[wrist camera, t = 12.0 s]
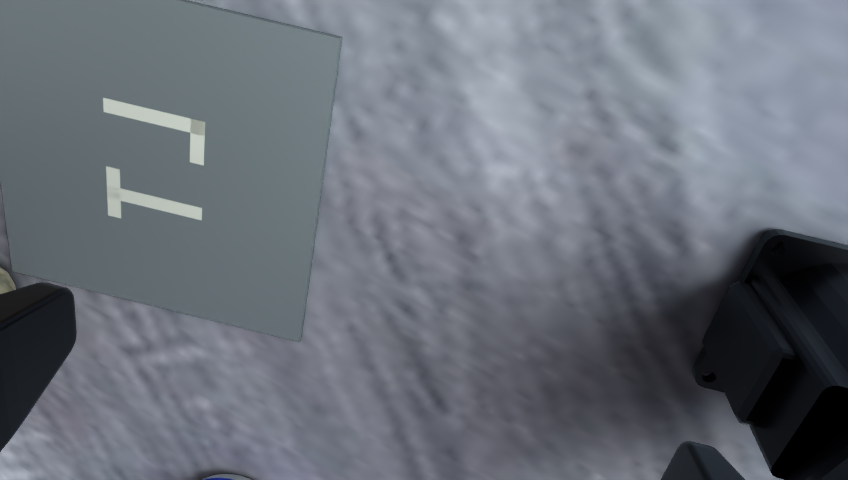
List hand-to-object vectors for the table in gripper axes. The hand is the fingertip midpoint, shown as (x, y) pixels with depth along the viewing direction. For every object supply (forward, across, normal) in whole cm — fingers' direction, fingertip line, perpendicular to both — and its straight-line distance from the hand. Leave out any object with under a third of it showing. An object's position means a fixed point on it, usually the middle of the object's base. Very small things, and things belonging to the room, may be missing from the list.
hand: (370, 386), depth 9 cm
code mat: (+13, +10, +4) cm, 17 cm away
